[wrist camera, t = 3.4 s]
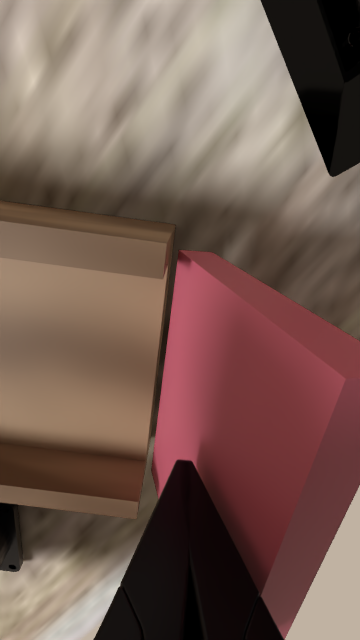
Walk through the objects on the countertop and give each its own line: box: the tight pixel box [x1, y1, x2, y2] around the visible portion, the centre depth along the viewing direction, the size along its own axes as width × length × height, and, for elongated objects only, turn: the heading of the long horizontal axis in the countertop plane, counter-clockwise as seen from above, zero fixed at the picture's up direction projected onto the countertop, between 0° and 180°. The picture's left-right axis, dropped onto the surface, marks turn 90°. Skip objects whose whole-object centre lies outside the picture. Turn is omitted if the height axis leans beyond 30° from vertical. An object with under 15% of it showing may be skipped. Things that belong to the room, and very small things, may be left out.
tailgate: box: [151, 250, 360, 640], centre depth 10 cm, size 10×2×8 cm, turn 173°
